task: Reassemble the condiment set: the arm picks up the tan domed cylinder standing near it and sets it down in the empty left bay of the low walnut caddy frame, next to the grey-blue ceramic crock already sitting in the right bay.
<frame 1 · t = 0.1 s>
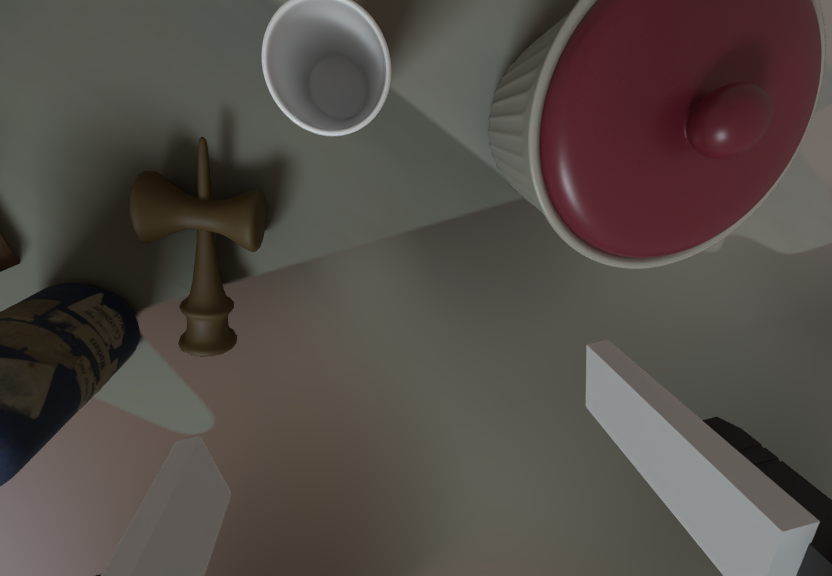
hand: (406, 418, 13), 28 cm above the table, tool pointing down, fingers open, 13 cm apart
canister: (94, 320, 39), on the table
drinking glass: (339, 90, 34), on the table
kendama: (216, 244, 38), on the table
canister 2: (547, 122, 37), on the table
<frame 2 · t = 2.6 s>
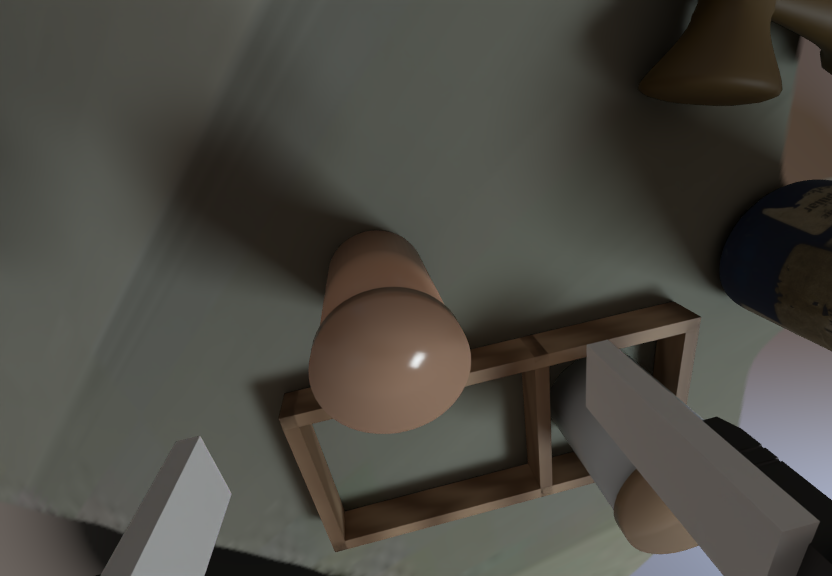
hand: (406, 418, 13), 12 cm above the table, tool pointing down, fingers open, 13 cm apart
canister: (764, 242, 28), on the table
tan domed cylinder: (376, 276, 24), on the table
crock: (594, 393, 31), resting in caddy
kendama: (741, 20, 22), on the table
caddy: (500, 417, 31), on the table
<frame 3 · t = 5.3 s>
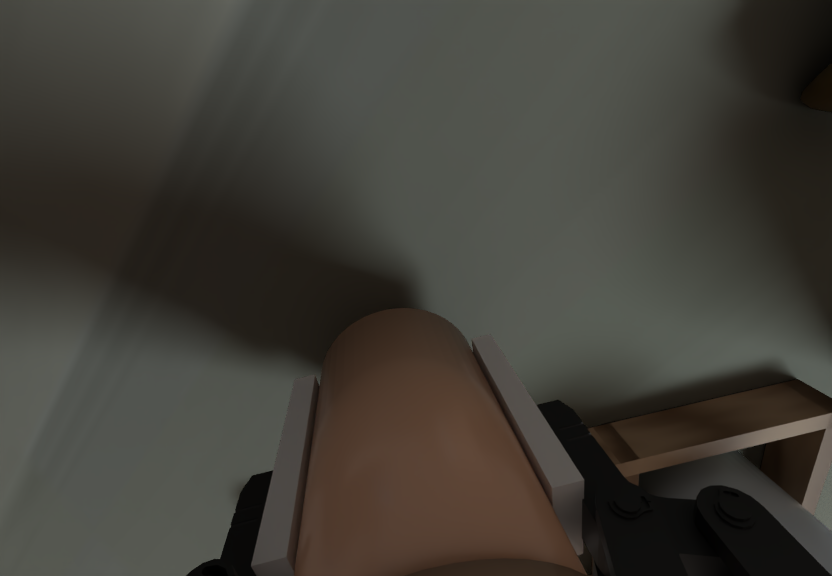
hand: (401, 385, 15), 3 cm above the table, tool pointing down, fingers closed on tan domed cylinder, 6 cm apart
tan domed cylinder: (399, 376, 15), point 3 cm above the table, touching gripper
crock: (683, 490, 24), resting in caddy
caddy: (560, 521, 24), on the table
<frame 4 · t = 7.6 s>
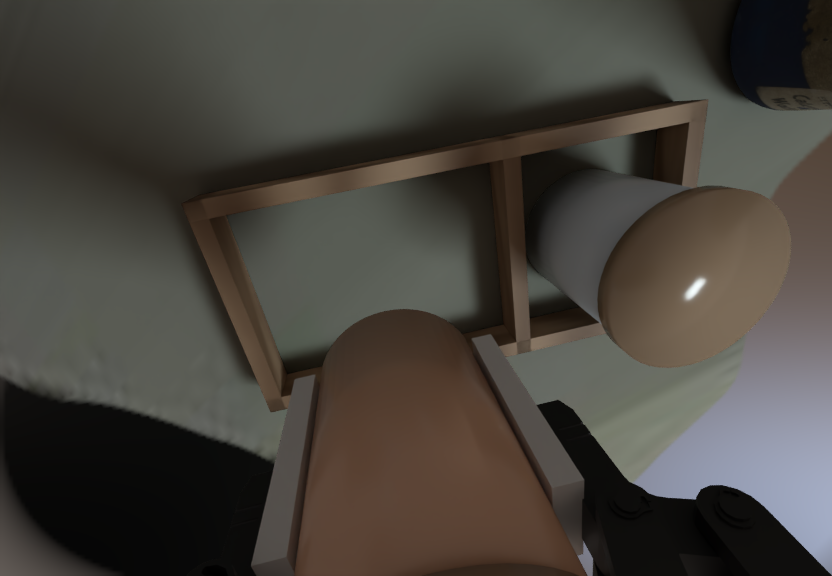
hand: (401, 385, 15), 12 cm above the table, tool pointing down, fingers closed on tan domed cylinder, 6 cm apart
canister: (785, 25, 23), on the table
tan domed cylinder: (399, 378, 15), point 11 cm above the table, touching gripper
crock: (580, 229, 26), resting in caddy
caddy: (468, 254, 26), on the table
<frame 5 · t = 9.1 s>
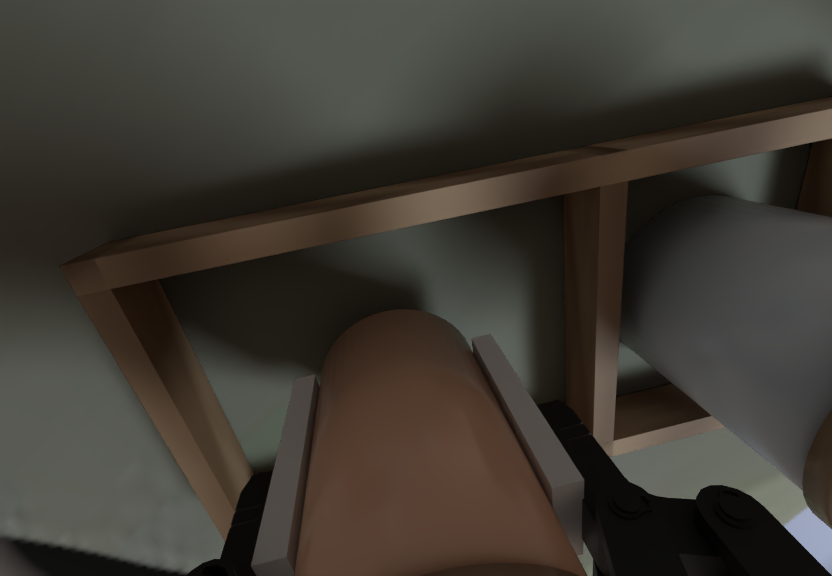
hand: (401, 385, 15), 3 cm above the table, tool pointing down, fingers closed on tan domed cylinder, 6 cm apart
tan domed cylinder: (399, 378, 15), point 2 cm above the table, touching gripper
crock: (685, 281, 18), resting in caddy
caddy: (523, 319, 17), on the table
when the fingers open (2 cm above the table, at t = 9.9 s): tan domed cylinder drops 2 cm, resting in caddy.
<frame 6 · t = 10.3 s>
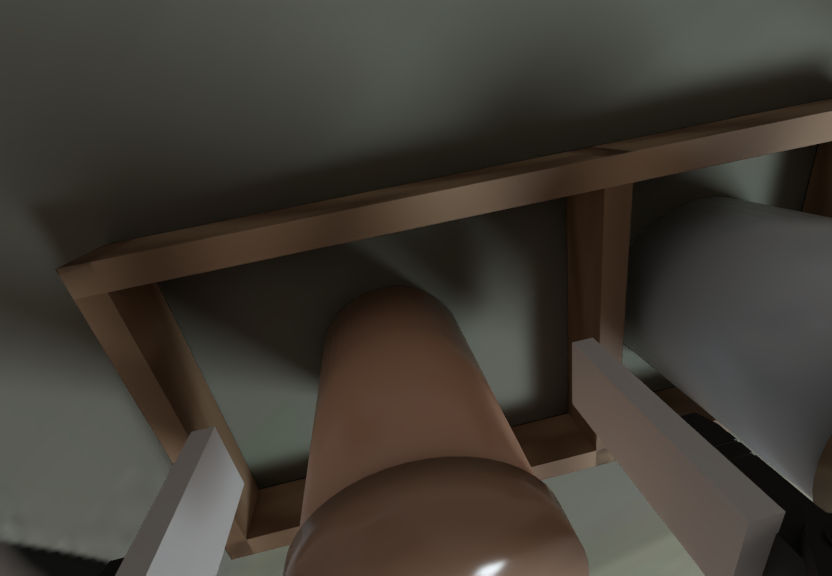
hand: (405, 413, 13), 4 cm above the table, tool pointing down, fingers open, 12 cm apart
tan domed cylinder: (394, 349, 17), resting in caddy
crock: (690, 283, 18), resting in caddy
caddy: (525, 322, 17), on the table
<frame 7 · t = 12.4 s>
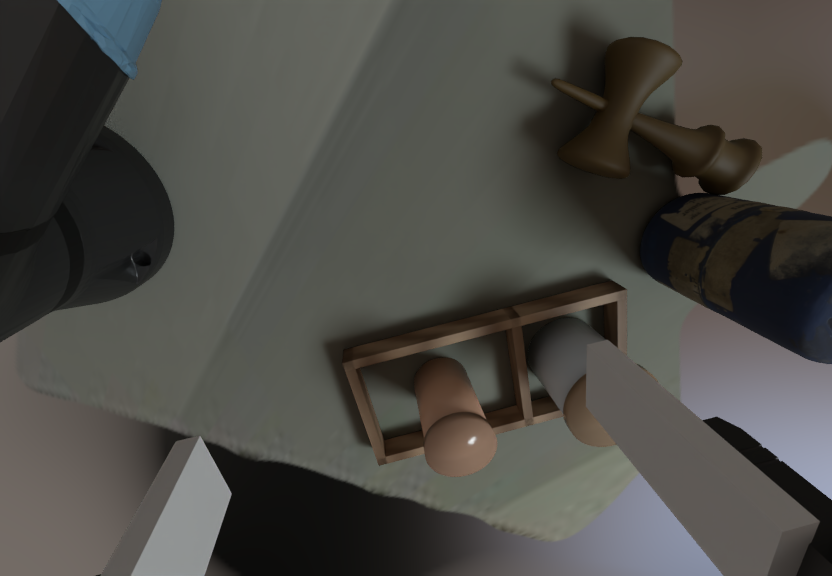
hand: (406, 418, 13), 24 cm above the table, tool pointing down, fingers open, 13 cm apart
canister: (674, 237, 40), on the table
tan domed cylinder: (440, 380, 43), resting in caddy
crock: (561, 349, 43), resting in caddy
kendama: (628, 129, 35), on the table
caddy: (493, 368, 43), on the table
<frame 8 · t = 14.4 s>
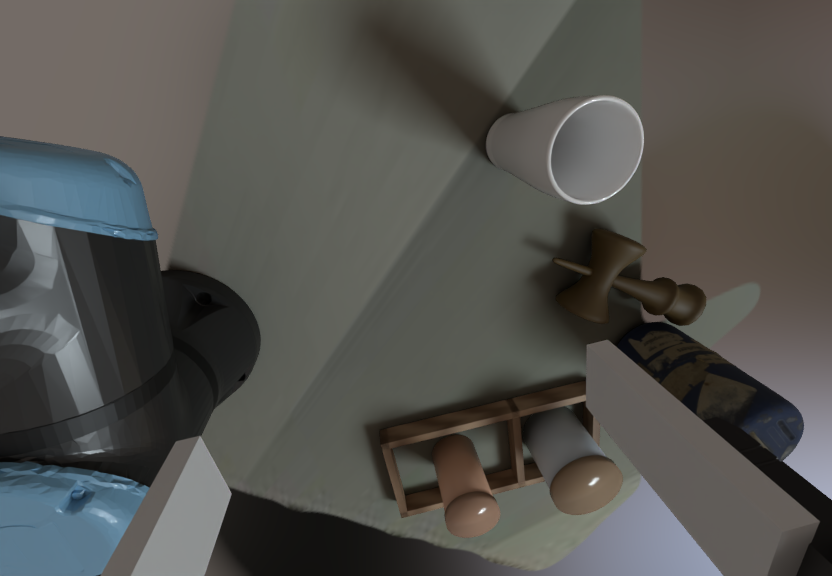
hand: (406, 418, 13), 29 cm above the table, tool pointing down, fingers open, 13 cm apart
canister: (639, 348, 51), on the table
tan domed cylinder: (453, 451, 53), resting in caddy
drinking glass: (509, 142, 38), on the table
crock: (549, 428, 54), resting in caddy
kendama: (609, 274, 46), on the table
caddy: (495, 441, 54), on the table
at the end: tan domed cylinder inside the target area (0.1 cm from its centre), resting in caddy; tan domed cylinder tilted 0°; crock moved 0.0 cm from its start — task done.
